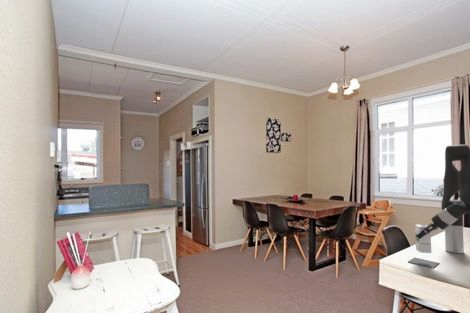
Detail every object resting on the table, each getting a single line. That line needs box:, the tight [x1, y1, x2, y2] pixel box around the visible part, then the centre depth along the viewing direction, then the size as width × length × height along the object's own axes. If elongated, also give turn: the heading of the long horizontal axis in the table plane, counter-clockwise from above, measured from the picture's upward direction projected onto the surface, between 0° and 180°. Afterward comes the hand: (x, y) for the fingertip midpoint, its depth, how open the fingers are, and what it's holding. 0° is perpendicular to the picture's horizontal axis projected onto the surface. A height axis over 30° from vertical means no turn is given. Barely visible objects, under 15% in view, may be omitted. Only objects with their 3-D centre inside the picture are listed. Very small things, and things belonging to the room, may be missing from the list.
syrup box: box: [414, 224, 432, 254], centre depth 153 cm, size 6×6×14 cm
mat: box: [407, 256, 441, 269], centre depth 152 cm, size 12×12×1 cm
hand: (420, 236), depth 154 cm, fingers closed on syrup box, 8 cm apart
